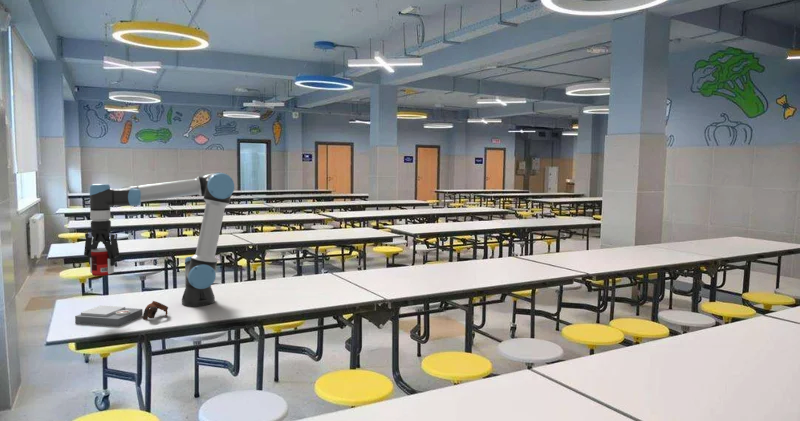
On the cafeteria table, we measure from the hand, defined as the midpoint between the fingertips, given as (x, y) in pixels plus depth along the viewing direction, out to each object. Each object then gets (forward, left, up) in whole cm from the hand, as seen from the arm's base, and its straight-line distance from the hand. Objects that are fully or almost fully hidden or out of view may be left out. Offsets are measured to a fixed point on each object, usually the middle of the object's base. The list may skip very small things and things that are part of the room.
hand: (102, 272), depth 231 cm
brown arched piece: (-20, -6, -21) cm, 29 cm away
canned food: (0, 0, -1) cm, 1 cm away
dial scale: (-3, 0, -20) cm, 21 cm away
